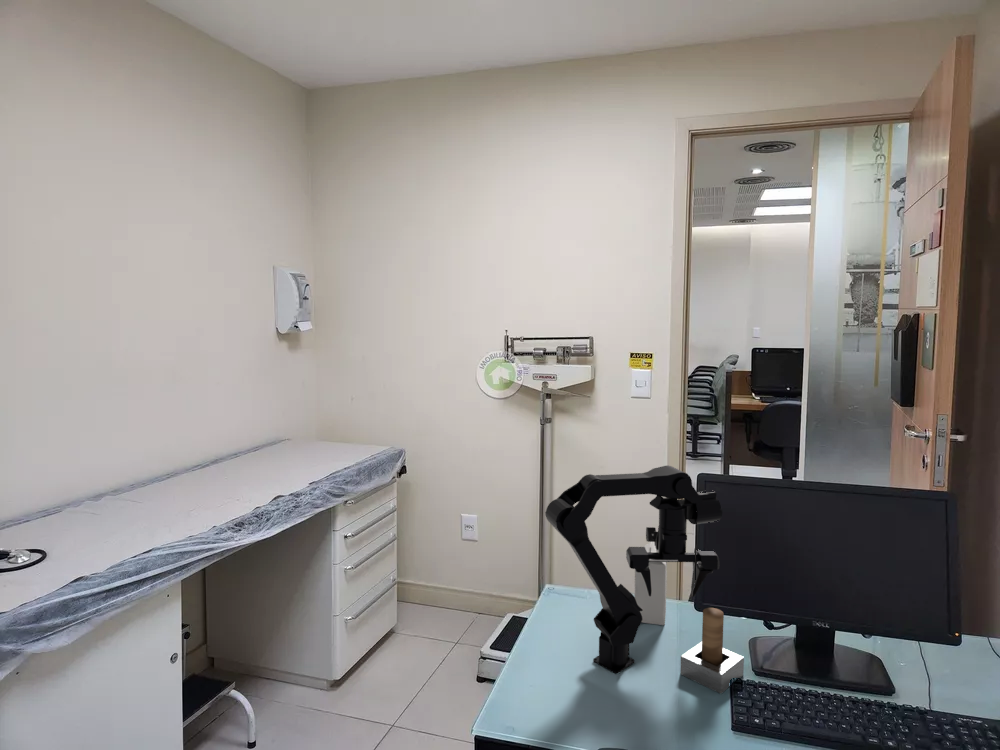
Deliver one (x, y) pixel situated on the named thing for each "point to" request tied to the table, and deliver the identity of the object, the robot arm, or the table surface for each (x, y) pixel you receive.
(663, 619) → the milk carton
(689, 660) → the socket block
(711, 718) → the table surface
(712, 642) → the peg
